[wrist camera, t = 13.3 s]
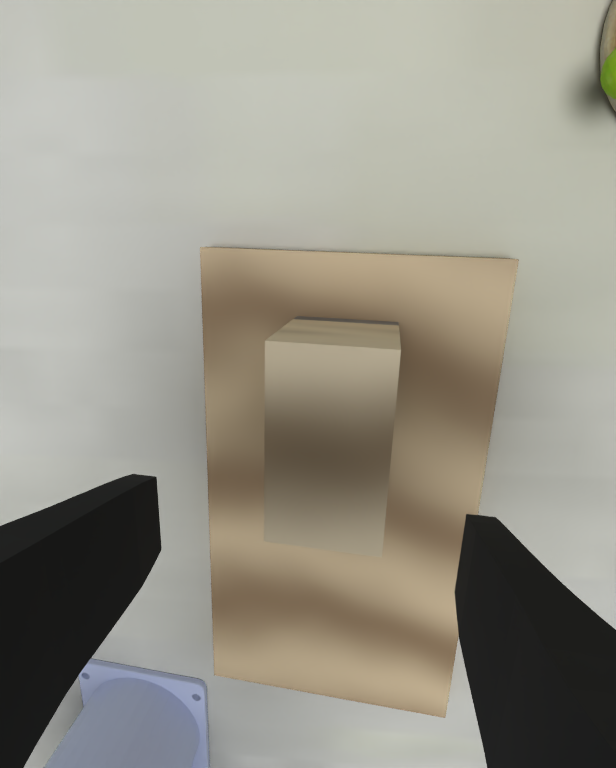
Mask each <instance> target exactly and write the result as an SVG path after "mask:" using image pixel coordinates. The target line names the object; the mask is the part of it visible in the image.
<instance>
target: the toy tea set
mask: <svg viewBox="0 0 616 768" xmlns="http://www.w3.org/2000/svg"><path fill="white" fill-rule="evenodd" d="M600 71H601V76H600V81H601V86H602V88H603V90H604V91H605V93H606V95H607V97H608V99H609V101H610V103H611V105H612V107H613V109H614V110H615V111H616V0H613V1H612V4H611V6H610V8H609V11H608V14H607V17H606V20H605V23H604V28H603V34H602V40H601V46H600Z"/></svg>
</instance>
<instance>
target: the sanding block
mask: <svg viewBox="0 0 616 768" xmlns="http://www.w3.org/2000/svg"><path fill="white" fill-rule="evenodd" d="M400 356H401V343H400V331H399V322H390V321H373V320H356V319H339V318H322V317H305V316H296V317H295V318H294V319H293V320H291V321H290V322H289V323H287V324H286V325H285V326H283V327H282V328H281V329H280V330H278V331H277V332H276V333H274V334H273V335H272V336H270V337H269V338H268V339H266V340H265V431H264V542H271V543H279V544H286V545H293V546H301V547H308V548H315V549H323V550H330V551H337V552H345V553H352V554H360V555H367V556H374V557H382V550H383V539H384V528H385V518H386V507H387V496H388V485H389V475H390V464H391V453H392V442H393V431H394V421H395V410H396V399H397V388H398V378H399V367H400Z"/></svg>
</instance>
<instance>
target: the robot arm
mask: <svg viewBox="0 0 616 768" xmlns="http://www.w3.org/2000/svg"><path fill="white" fill-rule="evenodd" d="M160 551H161V536H160V522H159V508H158V493H157V479H156V477H153V476H145V475H136V474H132V475H128V476H125V477H122V478H119V479H116V480H114V481H111V482H109V483H106V484H104V485H101V486H99V487H96V488H94V489H91V490H89V491H87V492H84V493H82V494H79V495H77V496H75V497H72V498H70V499H67V500H65V501H63V502H60V503H58V504H56V505H53V506H51V507H48V508H46V509H43V510H41V511H38V512H35V513H33V514H30V515H28V516H25V517H22V518H20V519H17V520H15V521H12V522H9V523H7V524H4V525H2V526H0V768H23V767H24V765H25V764H26V762H27V760H28V758H29V757H30V755H31V753H32V751H33V749H34V748H35V746H36V744H37V742H38V741H39V739H40V737H41V736H42V734H43V732H44V730H45V729H46V727H47V725H48V724H49V722H50V720H51V719H52V717H53V715H54V714H55V712H56V710H57V708H58V707H59V705H60V703H61V702H62V700H63V698H64V697H65V695H66V693H67V692H68V690H69V689H70V687H71V686H72V684H73V683H74V681H75V680H76V678H77V677H78V675H79V680H80V687H81V694H82V701H83V709H82V711H81V712H80V714H79V715H78V717H77V718H76V720H75V721H74V723H73V724H72V726H71V727H70V729H69V730H68V732H67V733H66V735H65V736H64V738H63V739H62V741H61V742H60V744H59V745H58V747H57V748H56V750H55V752H54V753H53V755H52V756H51V758H50V759H49V761H48V762H47V764H46V765H45V767H44V768H210V759H209V734H208V709H207V686H206V684H205V682H204V681H202V680H200V679H197V678H192V677H186V676H181V675H176V674H170V673H165V672H160V671H154V670H149V669H144V668H138V667H133V666H127V665H122V664H117V663H111V662H106V661H101V660H95V659H91V657H92V656H93V654H94V653H95V652H96V650H97V649H98V648H99V646H100V645H101V643H102V642H103V641H104V639H105V638H106V636H107V635H108V634H109V632H110V631H111V630H112V628H113V627H114V625H115V624H116V623H117V621H118V620H119V618H120V617H121V616H122V614H123V613H124V611H125V610H126V609H127V607H128V606H129V604H130V603H131V602H132V600H133V599H134V597H135V596H136V594H137V593H138V592H139V590H140V589H141V587H142V585H143V584H144V582H145V580H146V578H147V576H148V575H149V573H150V571H151V569H152V567H153V565H154V563H155V561H156V559H157V557H158V555H159V553H160ZM455 603H456V614H457V624H458V633H459V640H460V645H461V649H462V654H463V658H464V663H465V667H466V672H467V677H468V681H469V685H470V690H471V694H472V699H473V703H474V708H475V712H476V716H477V721H478V725H479V730H480V734H481V739H482V743H483V748H484V752H485V758H486V763H487V768H616V630H615V629H614V628H613V627H612V626H610V625H609V624H608V623H607V622H605V621H604V620H603V619H602V618H601V617H599V616H598V615H597V614H596V613H595V612H594V611H593V610H591V609H590V608H589V607H588V606H587V605H586V604H585V603H583V602H582V601H581V600H580V599H579V598H578V597H577V596H575V595H574V594H573V593H572V592H571V591H570V590H569V589H568V588H567V587H566V586H565V585H563V584H562V583H561V582H560V581H559V580H558V579H557V578H556V577H555V576H554V575H553V574H552V573H551V572H550V571H549V570H548V569H547V568H546V567H545V566H544V565H543V564H542V563H541V562H540V561H539V560H538V559H537V558H536V557H535V556H534V555H533V554H532V553H531V552H530V551H529V550H528V549H527V548H526V547H525V546H524V545H523V544H522V543H521V542H520V541H519V540H518V539H517V538H516V537H515V536H514V535H513V534H512V533H511V532H510V531H509V530H508V529H507V528H506V527H505V526H504V525H503V524H502V523H501V522H500V521H499V520H498V519H497V518H496V517H488V516H480V515H472V514H466V519H465V526H464V532H463V539H462V546H461V552H460V559H459V565H458V572H457V578H456V585H455ZM197 694H198V695H197Z"/></svg>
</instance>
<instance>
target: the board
mask: <svg viewBox="0 0 616 768" xmlns="http://www.w3.org/2000/svg"><path fill="white" fill-rule="evenodd" d="M200 258H201V288H202V318H203V348H204V379H205V409H206V439H207V469H208V499H209V529H210V559H211V589H212V619H213V649H214V675H216V676H221V677H227V678H232V679H238V680H243V681H248V682H254V683H259V684H265V685H270V686H276V687H281V688H286V689H292V690H297V691H303V692H308V693H313V694H319V695H324V696H330V697H335V698H340V699H346V700H351V701H357V702H362V703H368V704H373V705H378V706H384V707H389V708H395V709H400V710H405V711H411V712H416V713H422V714H427V715H432V716H438V717H443V718H445V716H446V710H447V703H448V697H449V691H450V685H451V679H452V672H453V666H454V660H455V654H456V647H457V641H458V635H459V633H458V624H457V614H456V603H455V585H456V578H457V572H458V565H459V559H460V552H461V546H462V539H463V532H464V526H465V519H466V514H472V515H478V510H479V504H480V498H481V491H482V485H483V479H484V473H485V466H486V460H487V454H488V448H489V442H490V435H491V429H492V423H493V417H494V410H495V404H496V398H497V392H498V385H499V379H500V373H501V367H502V360H503V354H504V348H505V342H506V335H507V329H508V323H509V317H510V311H511V304H512V298H513V292H514V286H515V279H516V273H517V267H518V261H519V260H518V259H510V258H484V257H458V256H432V255H405V254H379V253H353V252H327V251H301V250H275V249H248V248H222V247H200ZM296 316H305V317H322V318H339V319H356V320H373V321H390V322H399V331H400V343H401V356H400V367H399V378H398V388H397V399H396V410H395V421H394V431H393V442H392V453H391V464H390V475H389V485H388V496H387V507H386V518H385V528H384V539H383V550H382V557H374V556H367V555H360V554H352V553H345V552H337V551H330V550H323V549H315V548H308V547H301V546H293V545H286V544H279V543H271V542H264V431H265V340H266V339H268V338H269V337H270V336H272V335H273V334H274V333H276V332H277V331H278V330H280V329H281V328H282V327H283V326H285V325H286V324H287V323H289V322H290V321H291V320H293V319H294V318H295V317H296Z"/></svg>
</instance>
